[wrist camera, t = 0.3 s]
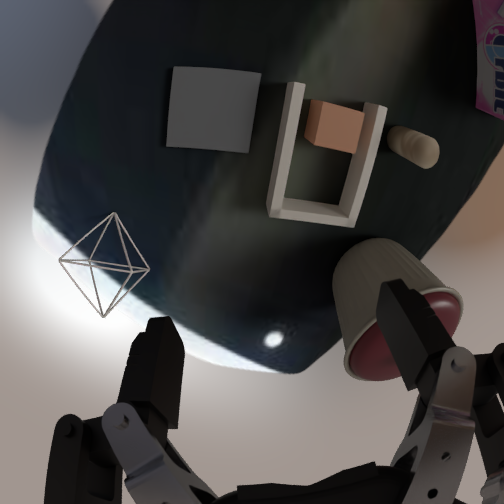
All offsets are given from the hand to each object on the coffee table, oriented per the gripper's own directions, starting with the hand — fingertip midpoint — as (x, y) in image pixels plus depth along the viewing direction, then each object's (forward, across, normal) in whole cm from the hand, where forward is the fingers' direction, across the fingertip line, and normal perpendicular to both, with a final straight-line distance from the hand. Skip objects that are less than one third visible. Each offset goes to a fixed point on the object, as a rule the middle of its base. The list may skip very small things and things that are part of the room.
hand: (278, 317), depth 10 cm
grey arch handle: (+27, -9, +1) cm, 29 cm away
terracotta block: (+27, -10, -2) cm, 29 cm away
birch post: (+27, -21, 0) cm, 34 cm away
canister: (+28, -17, +21) cm, 39 cm away
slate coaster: (+27, +3, -6) cm, 28 cm away
